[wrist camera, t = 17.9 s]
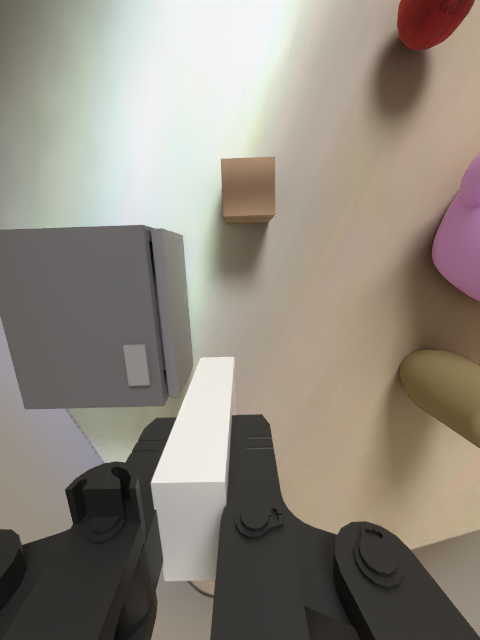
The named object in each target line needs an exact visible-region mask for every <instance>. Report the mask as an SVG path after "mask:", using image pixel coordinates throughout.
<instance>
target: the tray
mask: <svg viewBox="0 0 480 640" xmlns="http://www.w3.org/2000/svg"><path fill="white" fill-rule="evenodd" d="M151 236H152V245H153V248H150V255H151V264H152V273H153V282H154V291H155V300H156V309H157V318H158V327H159V336H160V345H161V354H162V363H163V370H166V374H167V383H168V392H169V397H179V395H180V393H181V390H182V388H183V386H184V384H185V382H186V379H187V377H188V375H189V373H190V370H191V368H192V366H193V358H192V345H191V333H190V321H189V308H188V296H187V284H186V271H185V259H184V247H183V235H180V234H177V233H174V232H171V231H168V230H165V229H151Z"/></svg>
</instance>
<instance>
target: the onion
mask: <svg viewBox="0 0 480 640" xmlns="http://www.w3.org/2000/svg"><path fill="white" fill-rule="evenodd" d="M474 1H475V0H401V2H400V4H399V9H398V19H397V28H398V32H399V37H400V39H401V40H402V42H403V43H404V44H405V46H407V47H409V48H411V49H413V50H424V49H428V48H431V47H433V46H435V45H437V44H439V43H441V42H443V41H444V40H445V39H447V38H448V37H449V36H450V35H451V34H452V33H453V32H454V31H455V29H456V28H457V27H458V26H459V25H460V23H461V22H462V21H463V20H464V18H465V17H466V16H467V14H468V13H469V11H470V9H471V8H472V6H473V4H474Z"/></svg>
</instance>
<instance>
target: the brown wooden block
mask: <svg viewBox="0 0 480 640" xmlns="http://www.w3.org/2000/svg"><path fill="white" fill-rule="evenodd" d="M221 173H222V196H223V217H224V219H225V221H226V223H227V224H234V223H263V222H269V221H270V220H271V219H272V218H273V216H274V215H275V157H258V158H232V159H221Z"/></svg>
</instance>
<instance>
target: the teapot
mask: <svg viewBox="0 0 480 640" xmlns="http://www.w3.org/2000/svg"><path fill="white" fill-rule="evenodd" d="M432 259H433V262H434V265H435V266H436V268H437V269H438V271H439V272H440V273H441V274H442V275H443V276H444V277H445V278H446V279H447V280H448V281H449V282H450V283H451V284H453V285H454V286H455V287H457V288H458V289H459V290H461V291H462V292H464V293H465V294H467V295H468V296H470V297H472V298H474V299H475V300H477V301H479V302H480V154H479V155H478V156H477V157H476V158H475V159H474V160H473V161H472V163H471V164H470V166H469V167H468V169H467V171H466V172H465V174H464V176H463V178H462V181H461V185H460V191H459V192H458V193H457V195H456V196H455V198H454V199H453V201H452V203H451V204H450V206H449V208H448V209H447V211H446V213H445V215H444V217H443V219H442V222H441V224H440V226H439V228H438V231H437V233H436V236H435V239H434V242H433V247H432Z"/></svg>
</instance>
